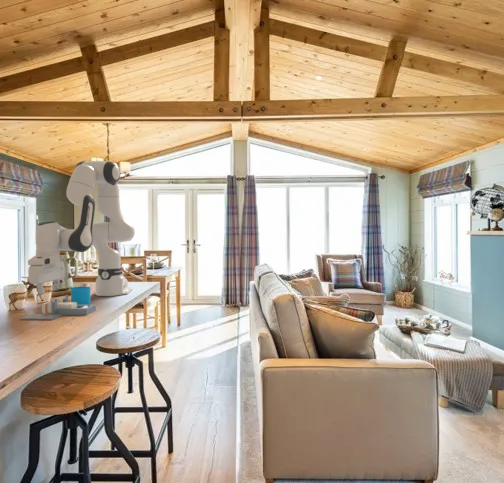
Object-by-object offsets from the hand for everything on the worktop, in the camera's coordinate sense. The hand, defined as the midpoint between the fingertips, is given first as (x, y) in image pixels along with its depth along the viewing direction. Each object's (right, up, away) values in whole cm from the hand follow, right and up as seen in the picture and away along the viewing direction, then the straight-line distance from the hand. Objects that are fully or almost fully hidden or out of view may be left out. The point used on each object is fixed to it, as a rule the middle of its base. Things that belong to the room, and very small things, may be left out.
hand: (48, 291), depth 150 cm
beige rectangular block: (+4, -9, +1) cm, 10 cm away
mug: (+6, -9, +17) cm, 20 cm away
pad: (+2, -9, -8) cm, 12 cm away
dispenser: (+11, -9, +1) cm, 14 cm away
